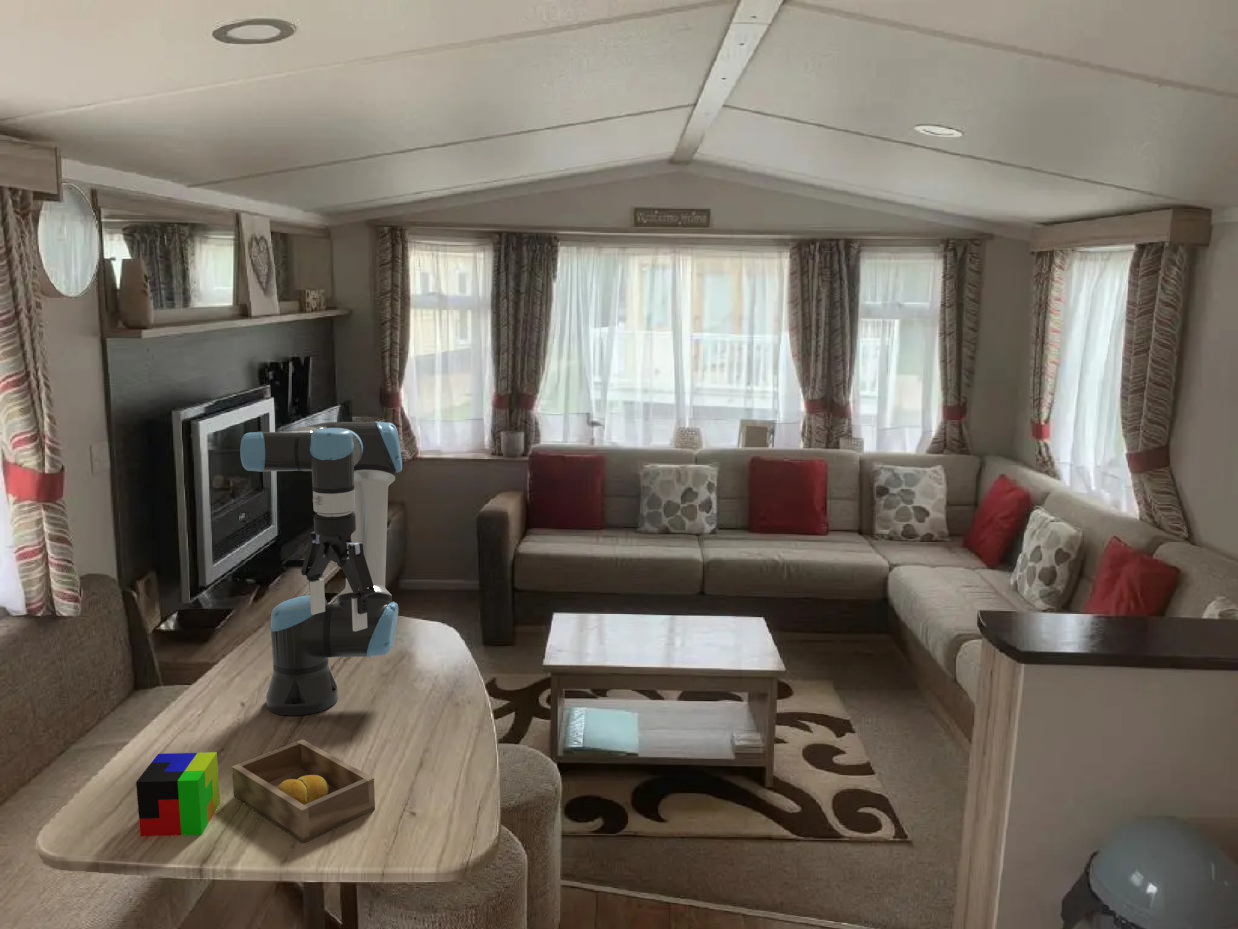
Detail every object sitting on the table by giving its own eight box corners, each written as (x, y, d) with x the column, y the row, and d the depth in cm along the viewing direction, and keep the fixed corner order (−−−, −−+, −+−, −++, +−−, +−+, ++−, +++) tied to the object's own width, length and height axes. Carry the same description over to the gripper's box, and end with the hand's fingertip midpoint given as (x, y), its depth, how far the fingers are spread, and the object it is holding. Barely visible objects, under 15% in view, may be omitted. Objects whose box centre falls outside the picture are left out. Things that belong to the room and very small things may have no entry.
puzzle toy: (162, 805, 176) (158, 753, 175) (220, 804, 177) (216, 752, 175) (140, 837, 167) (136, 782, 165) (201, 835, 168) (198, 780, 166)
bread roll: (335, 802, 177) (334, 781, 176) (284, 816, 172) (283, 795, 171) (320, 782, 184) (319, 762, 183) (271, 795, 179) (270, 775, 178)
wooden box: (233, 797, 179) (231, 766, 178) (303, 768, 190) (302, 739, 189) (303, 843, 165) (301, 810, 164) (375, 809, 176) (374, 778, 175)
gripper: (279, 504, 189) (284, 610, 193) (357, 527, 173) (361, 642, 177) (313, 498, 195) (318, 601, 199) (392, 519, 179) (395, 631, 183)
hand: (338, 621), depth 188 cm, fingers open, 13 cm apart
